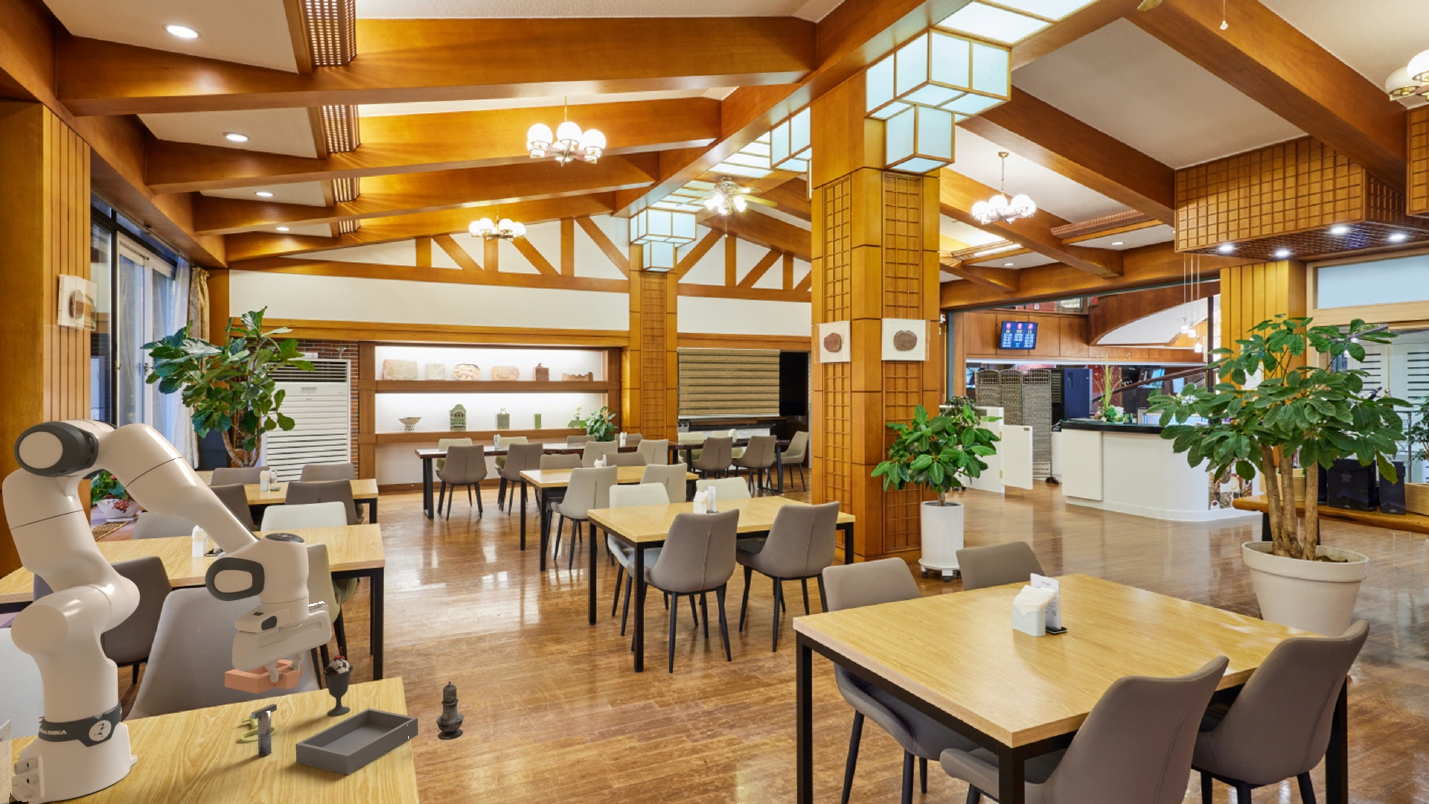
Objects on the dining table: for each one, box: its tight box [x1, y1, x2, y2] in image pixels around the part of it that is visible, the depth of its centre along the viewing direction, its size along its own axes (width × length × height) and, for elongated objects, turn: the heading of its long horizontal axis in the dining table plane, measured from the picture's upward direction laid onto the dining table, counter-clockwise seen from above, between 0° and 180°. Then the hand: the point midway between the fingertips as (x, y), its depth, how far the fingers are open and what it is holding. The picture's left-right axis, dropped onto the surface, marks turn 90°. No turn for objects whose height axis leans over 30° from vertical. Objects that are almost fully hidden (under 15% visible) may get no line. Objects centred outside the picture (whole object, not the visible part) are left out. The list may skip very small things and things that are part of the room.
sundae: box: [322, 646, 354, 717], centre depth 176 cm, size 7×7×15 cm
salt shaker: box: [435, 680, 465, 741], centre depth 163 cm, size 6×6×12 cm
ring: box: [224, 658, 303, 695], centre depth 154 cm, size 14×10×3 cm
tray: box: [295, 707, 419, 776], centre depth 157 cm, size 15×19×4 cm
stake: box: [250, 703, 278, 757], centre depth 155 cm, size 2×5×10 cm, turn 158°
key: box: [238, 714, 279, 744], centre depth 165 cm, size 7×12×2 cm, turn 58°
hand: (285, 677), depth 152 cm, fingers closed on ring, 3 cm apart
